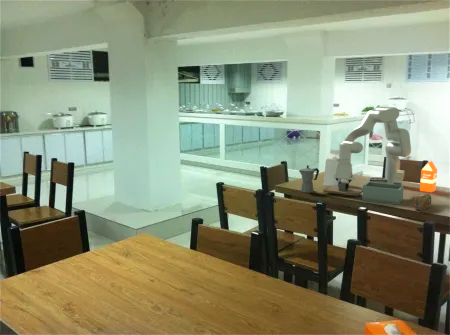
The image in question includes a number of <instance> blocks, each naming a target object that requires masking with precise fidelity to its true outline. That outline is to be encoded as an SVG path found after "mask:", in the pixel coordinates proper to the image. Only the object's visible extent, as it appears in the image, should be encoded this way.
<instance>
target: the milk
mask: <svg viewBox="0 0 450 335" xmlns="http://www.w3.org/2000/svg"><path fill="white" fill-rule="evenodd" d="M337 159H339V149H335V148H334V149H333V148H332V149H330V152H329V154H328V155H327V157H326V159H325V166H324V175H323V176H324V177H323V186H327V187H329V186H335V187H338V181H337V180H336V179H335V178H333V177H334V175H335V174H336V167H337V163H339V162H338V161H337ZM341 182H345V179H341Z"/></svg>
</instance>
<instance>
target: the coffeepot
mask: <svg viewBox="0 0 450 335" xmlns="http://www.w3.org/2000/svg"><path fill="white" fill-rule="evenodd" d="M298 172H299V174H300V175H301V180H302V181H301V186H300V192H302V193H310V194H311V193H313V192H314V184H313V181H317V179H318V176H319V173H320V170H319V169H318V168H317V167H315V168H310V165H306V167H305V168H301V169H300V170H298ZM315 172H316V173H315ZM314 175H315V177H314Z"/></svg>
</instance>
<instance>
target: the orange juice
mask: <svg viewBox="0 0 450 335" xmlns="http://www.w3.org/2000/svg"><path fill="white" fill-rule="evenodd" d="M437 177H438V169H437V167H436V166H435V164H434V163H433V161H428V162H427V163H426V164H425V165H424V166H423V167H422V169H421V172H420V184H419V191H420V192H426V193H433V192H435V191H436V188H437Z"/></svg>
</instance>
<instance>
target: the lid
mask: <svg viewBox="0 0 450 335" xmlns="http://www.w3.org/2000/svg"><path fill="white" fill-rule="evenodd" d="M346 183H347V181H344V182H341V183H340V184H339V187H335V186H327V187H326V188H324V189H322V190H323V193H331V194H339V195H346V196H354V197H358V196H360V195H361V194H362V193H363V189H360V188H350V187H349V188H348V189H346Z"/></svg>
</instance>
